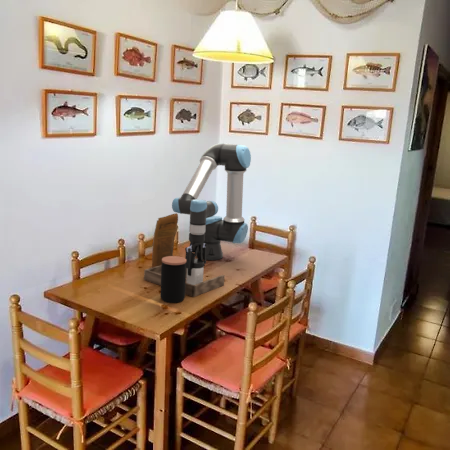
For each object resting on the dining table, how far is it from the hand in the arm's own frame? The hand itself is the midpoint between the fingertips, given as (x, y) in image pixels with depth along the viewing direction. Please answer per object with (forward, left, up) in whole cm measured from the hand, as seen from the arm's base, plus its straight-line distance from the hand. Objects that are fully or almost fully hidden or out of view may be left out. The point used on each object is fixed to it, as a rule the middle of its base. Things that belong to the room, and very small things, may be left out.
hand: (194, 280), depth 221 cm
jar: (0, 0, -3) cm, 3 cm away
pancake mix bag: (-10, -30, -3) cm, 32 cm away
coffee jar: (+21, +5, -3) cm, 22 cm away
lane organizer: (+1, -6, -2) cm, 6 cm away
